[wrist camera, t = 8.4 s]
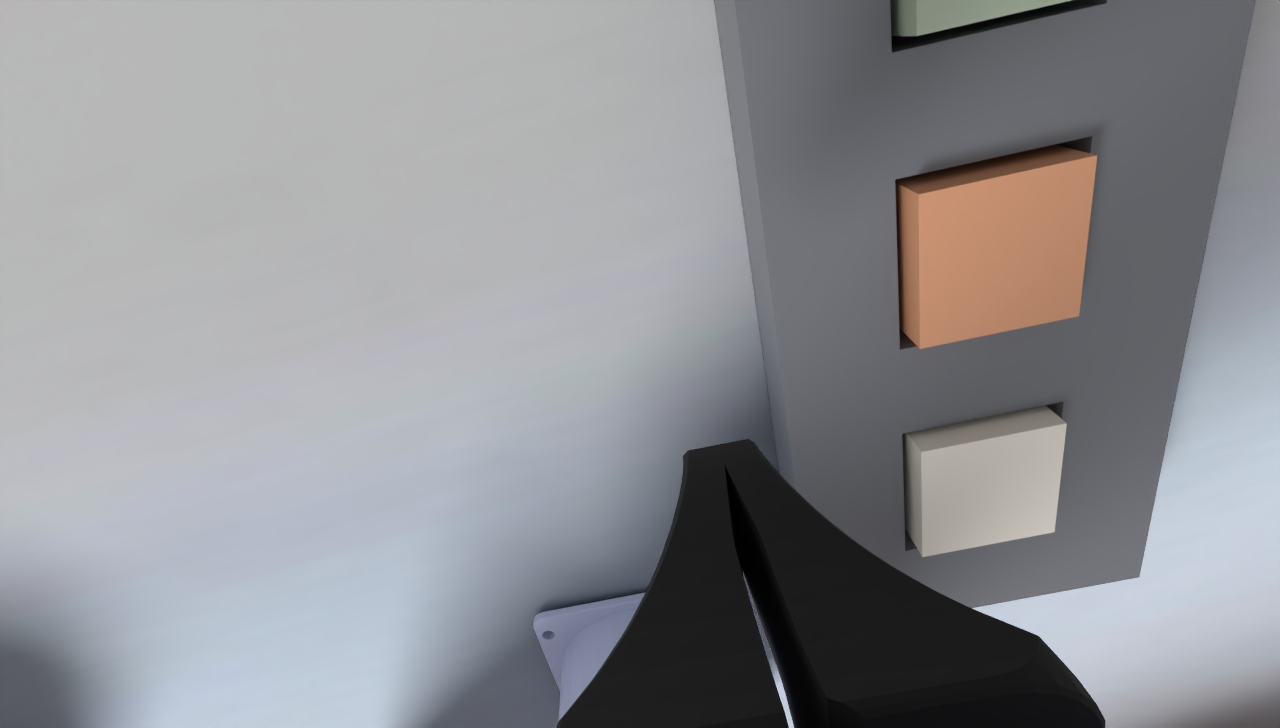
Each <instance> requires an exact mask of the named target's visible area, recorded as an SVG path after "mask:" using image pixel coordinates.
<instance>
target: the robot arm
mask: <svg viewBox="0 0 1280 728" xmlns="http://www.w3.org/2000/svg"><path fill="white" fill-rule="evenodd" d="M683 462H684V466H683V477H682V484H681V489H680V495H679V499H678V503H677V507H676V511H675V515H674V519H673V523H672V526H671V529H670V532H669V535H668V538H667V541H666V544H665V547H664V550H663V553H662V555H661V558H660V560H659V563H658V565H657V568H656V570H655V573H654V575H653V577H652V579H651V582H650V584H649V586H648V588H647V590H646V592H645V593H640V594H635V595H629V596H624V597H619V598H614V599H608V600H603V601H598V602H593V603H587V604H582V605H577V606H572V607H566V608H561V609H556V610H551V611H546V612H541V613H539V614H537V615H536V616H535V618H534V622H533V628H534V631H535V633H536V636H537V638H538V640H539V643H540V645H541V648H542V650H543V652H544V655H545V657H546V660H547V662H548V665H549V667H550V669H551V672H552V674H553V677H554V679H555V681H556V684H557V686H558V689H559V691H560V707H559V721H558V725H557V728H789V727H788V723H787V719H786V716H785V712H784V709H783V706H782V703H781V700H780V697H779V694H778V691H777V688H776V685H775V681H774V678H773V675H772V672H771V669H770V666H769V662H768V659H767V656H766V653H765V650H764V646H763V643H762V640H761V636H760V633H759V630H758V626H757V623H756V620H755V616H754V613H753V609H752V606H751V602H750V599H749V595H748V592H747V588H746V585H745V581H744V577H743V572H744V575H745V578H746V581H747V583H748V586H749V589H750V592H751V595H752V597H753V600H754V603H755V606H756V609H757V612H758V614H759V617H760V620H761V623H762V626H763V628H764V631H765V634H766V637H767V639H768V642H769V645H770V648H771V651H772V653H773V656H774V659H775V662H776V665H777V667H778V671H779V674H780V677H781V680H782V683H783V687H784V690H785V693H786V697H787V701H788V705H789V709H790V713H791V717H792V720H793V724H794V728H1105V719H1104V717H1103V715H1102V713H1101V712H1100V710H1099V708H1098V706H1097V704H1096V703H1095V702H1094V700H1093V699H1092V698H1091V696H1090V695H1089V693H1088V692H1087V691H1086V689H1085V688H1084V687H1083V685H1082V684H1081V683H1080V681H1079V680H1078V679H1077V678H1076V676H1075V675H1074V674H1073V673H1072V672H1071V671H1070V670H1069V669H1068V667H1067V666H1066V665H1065V664H1064V663H1063V662H1062V661H1061V660H1060V659H1059V657H1058V656H1057V655H1056V654H1055V653H1054V652H1053V651H1052V650H1051V649H1050V648H1049V647H1048V646H1047V645H1046V643H1045V642H1044V641H1043V640H1042V639H1041V638H1040V637H1039V636H1037V635H1035V634H1032V633H1030V632H1028V631H1025V630H1023V629H1020V628H1018V627H1015V626H1013V625H1010V624H1008V623H1005V622H1003V621H1000V620H998V619H996V618H993V617H991V616H988V615H986V614H983V613H981V612H978V611H976V610H974V609H972V608H969V607H967V606H965V605H963V604H961V603H959V602H957V601H955V600H953V599H951V598H949V597H947V596H945V595H943V594H941V593H938V592H937V591H935V590H933V589H931V588H929V587H928V586H926V585H924V584H922V583H920V582H919V581H917V580H915V579H913V578H912V577H910V576H908V575H906V574H905V573H903V572H901V571H899V570H898V569H896V568H894V567H893V566H891V565H890V564H888V563H887V562H885V561H883V560H882V559H880V558H879V557H877V556H876V555H874V554H873V553H871V552H870V551H869V550H867V549H866V548H864V547H863V546H861V545H860V544H859V543H857V542H856V541H854V540H853V539H852V538H850V537H849V536H848V535H847V534H845V533H844V532H843V531H841V530H840V529H839V528H838V527H836V526H835V525H834V524H833V523H832V522H830V521H829V520H828V519H827V518H826V517H824V516H823V515H822V514H821V513H820V512H819V511H817V510H816V509H815V508H814V507H813V506H812V505H811V504H810V503H809V502H807V501H806V500H805V499H804V498H803V497H802V496H801V495H800V494H799V493H798V492H797V491H796V490H795V489H794V488H793V487H792V486H791V485H790V484H789V483H788V482H787V481H786V480H785V479H784V478H783V477H782V476H781V475H780V474H779V472H778V471H777V470H776V469H775V468H774V467H773V466H772V465H771V464H770V462H769V461H768V460H767V459H766V458H765V456H764V455H763V454H762V453H761V451H760V450H759V449H758V447H757V446H756V445H755V443H754V442H752V441H751V440H749V439H746V440H741V441H736V442H730V443H725V444H720V445H715V446H710V447H704V448H699V449H694V450H689V451H687V452H686V454H685V455H684V456H683ZM742 569H743V570H742ZM547 631H551V632H547Z"/></svg>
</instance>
